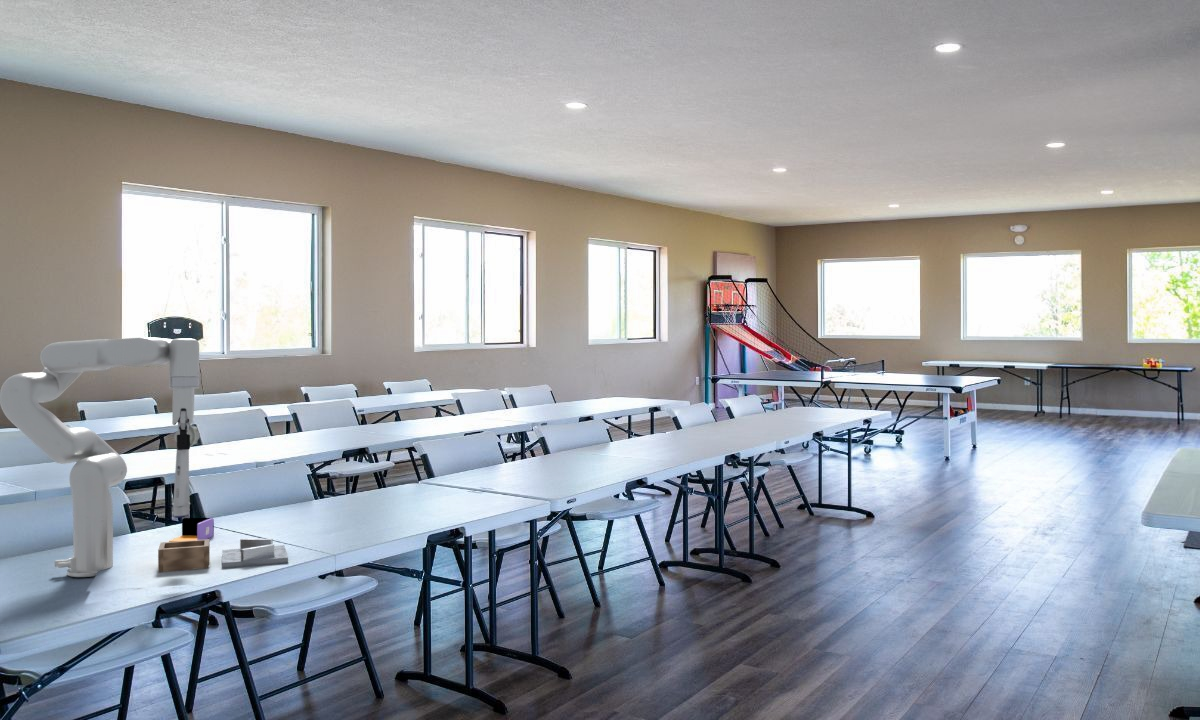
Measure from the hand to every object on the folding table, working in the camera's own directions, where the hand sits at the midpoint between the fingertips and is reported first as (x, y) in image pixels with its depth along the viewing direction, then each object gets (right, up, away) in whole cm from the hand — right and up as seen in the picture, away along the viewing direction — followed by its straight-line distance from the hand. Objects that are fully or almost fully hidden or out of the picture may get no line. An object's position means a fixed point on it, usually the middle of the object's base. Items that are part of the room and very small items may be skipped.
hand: (184, 447), depth 248 cm
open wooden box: (0, -33, 0) cm, 33 cm away
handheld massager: (0, -19, 0) cm, 19 cm away
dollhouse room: (-13, -33, +34) cm, 49 cm away
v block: (+16, -33, +9) cm, 37 cm away
